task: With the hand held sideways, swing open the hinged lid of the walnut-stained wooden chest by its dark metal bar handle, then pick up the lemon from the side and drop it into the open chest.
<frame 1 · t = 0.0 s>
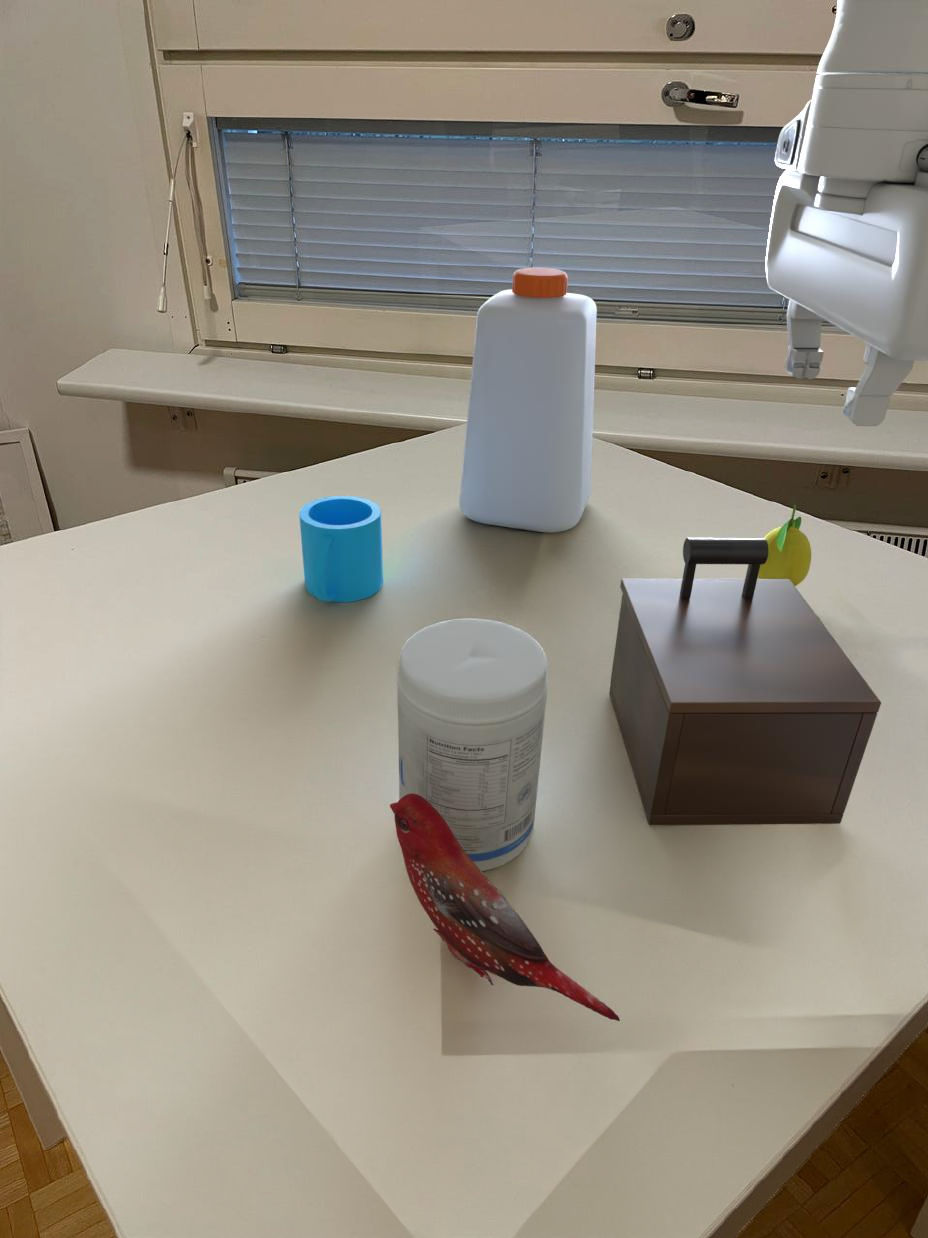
hand: (828, 397, 53), 29 cm above the table, tool pointing down, fingers open, 8 cm apart
chest lid: (742, 609, 63), point 13 cm above the table, hinge at 0.0°
decorative bird figurine: (487, 985, 51), on the table
supplement tub: (466, 829, 62), on the table
mug: (338, 593, 90), on the table
lemon: (774, 594, 92), on the table
chest: (713, 752, 69), on the table
plastic bottle: (525, 509, 110), on the table
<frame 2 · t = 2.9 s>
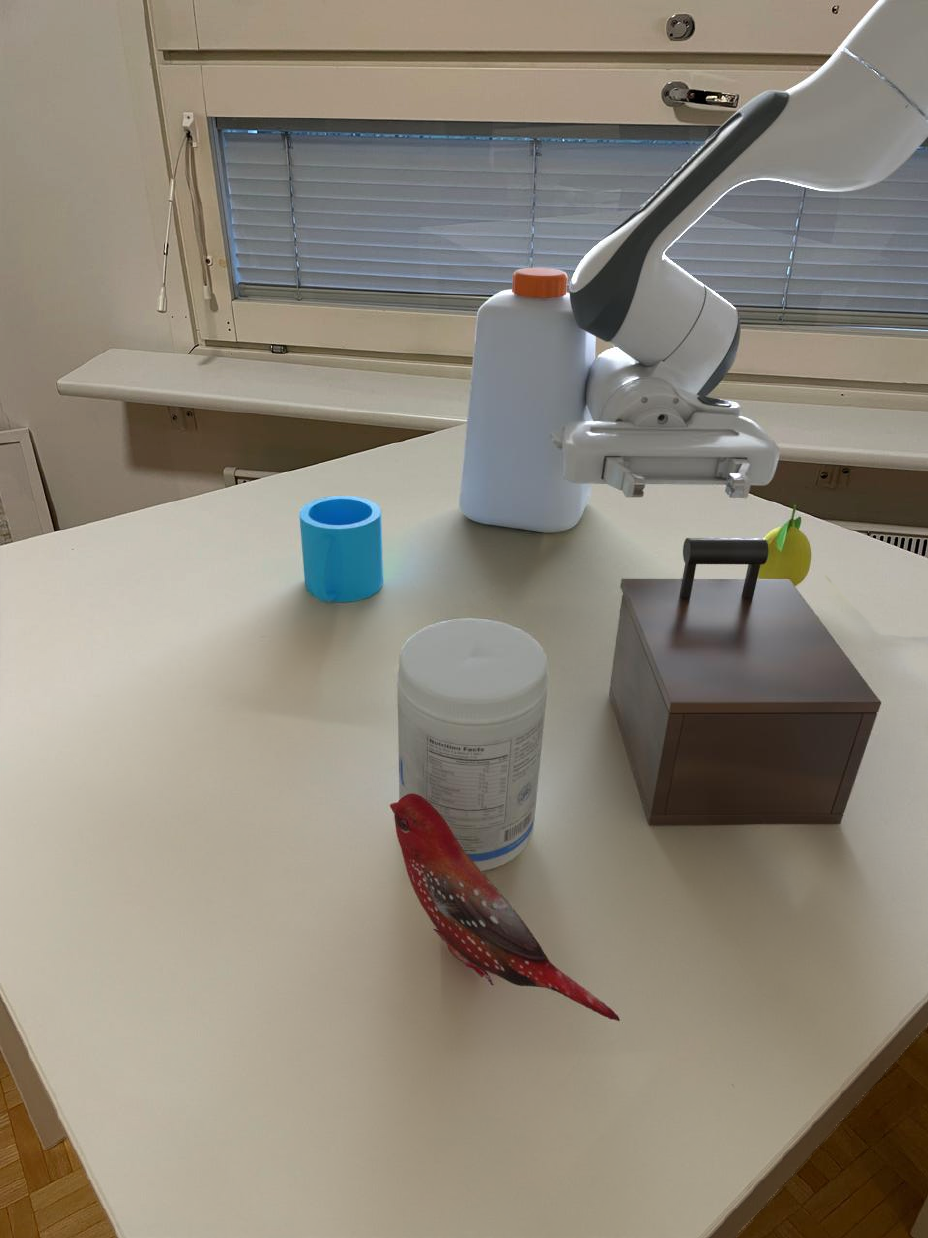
hand: (689, 490, 76), 15 cm above the table, tool horizontal, fingers open, 8 cm apart
nothing on the table moved.
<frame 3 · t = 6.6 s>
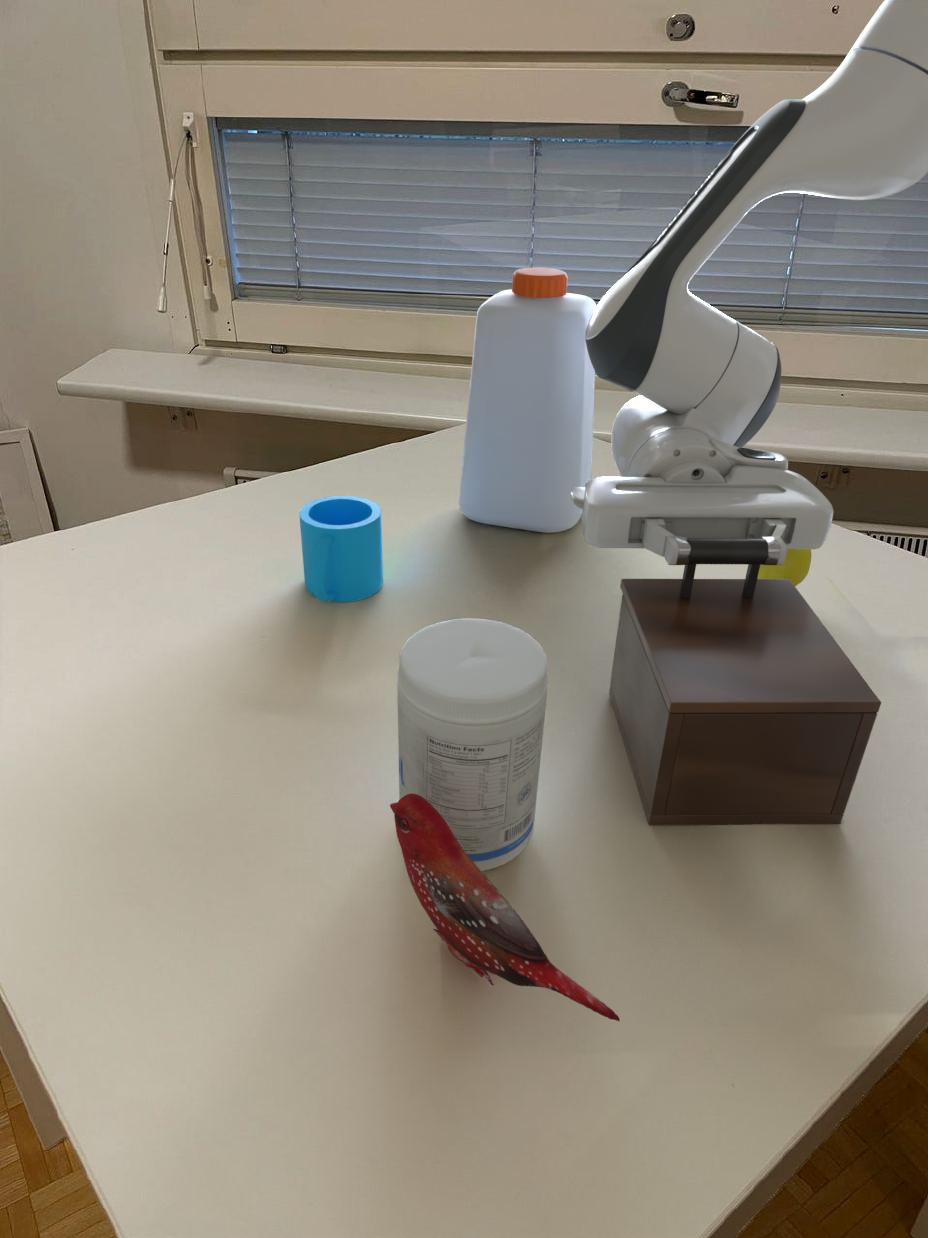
hand: (729, 557, 66), 15 cm above the table, tool horizontal, fingers closed on chest lid, 6 cm apart
chest lid: (742, 609, 63), point 13 cm above the table, hinge at 0.0°, touching gripper
everything else where it was.
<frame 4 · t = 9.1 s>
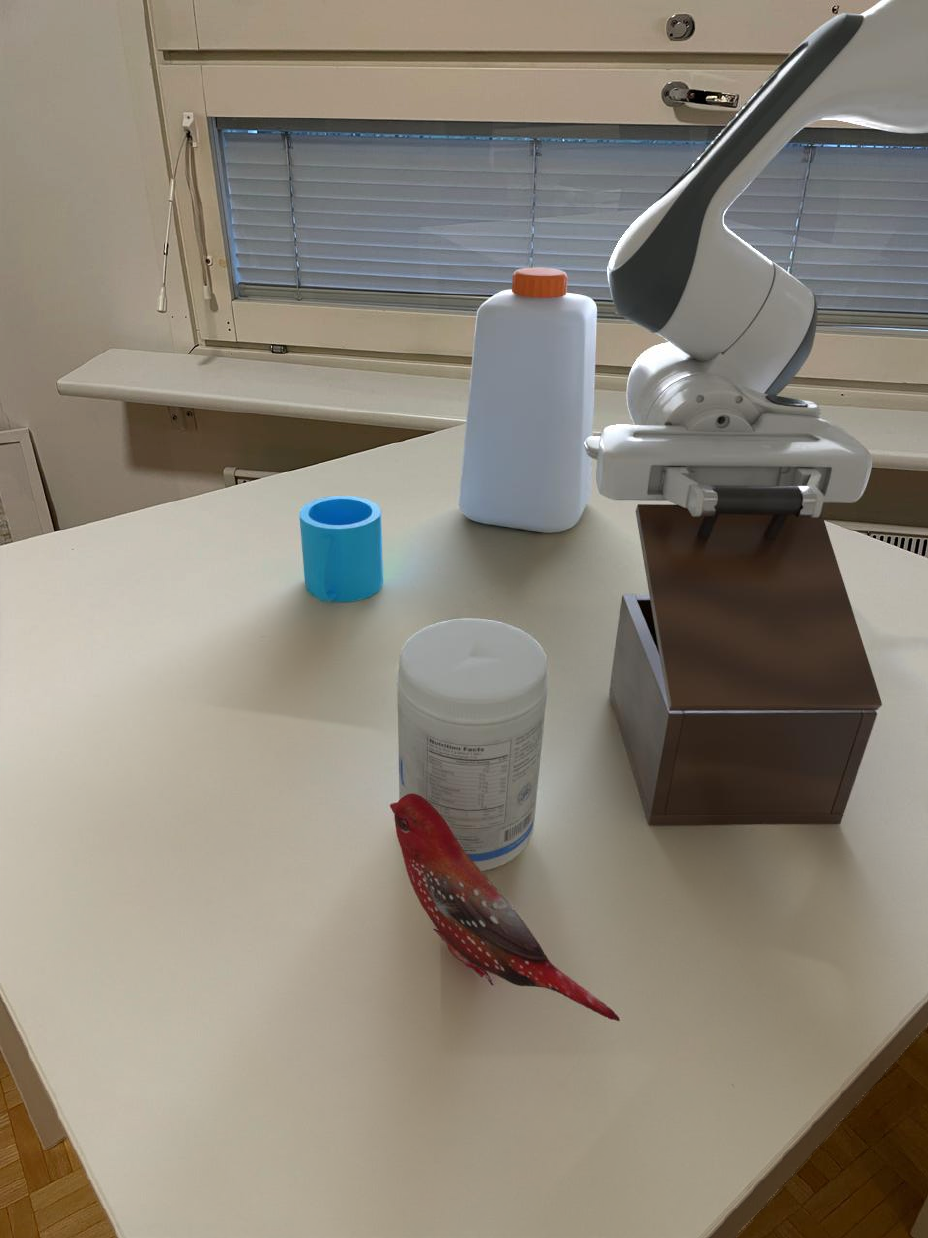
hand: (759, 507, 60), 21 cm above the table, tool horizontal, fingers closed on chest lid, 6 cm apart
chest lid: (761, 580, 60), point 16 cm above the table, hinge at 26.0°, touching gripper
everything else where it was.
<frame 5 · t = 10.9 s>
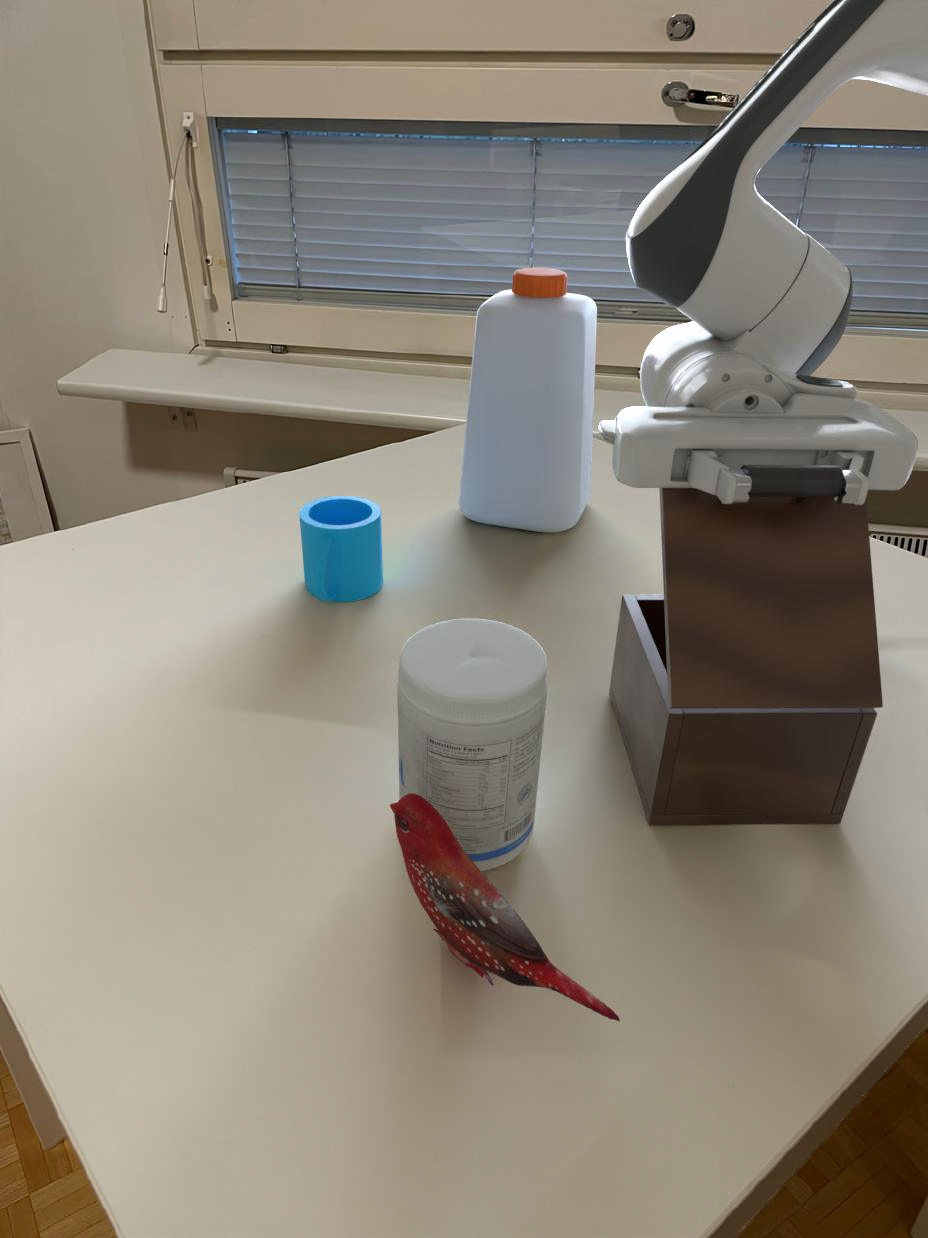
hand: (797, 493, 54), 24 cm above the table, tool horizontal, fingers closed on chest lid, 6 cm apart
chest lid: (783, 572, 56), point 19 cm above the table, hinge at 49.9°, touching gripper
everything else where it was.
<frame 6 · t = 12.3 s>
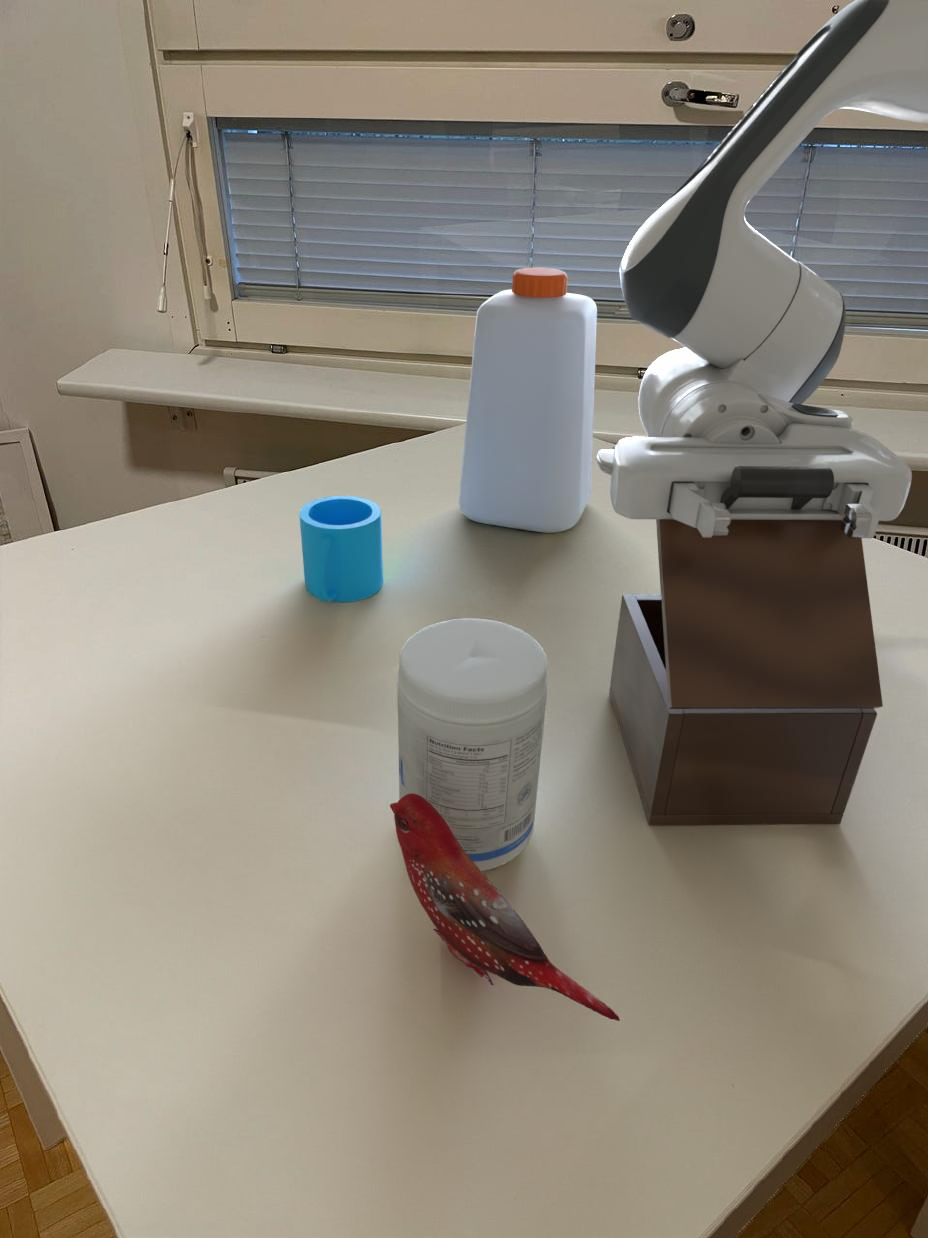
hand: (792, 527, 55), 22 cm above the table, tool horizontal, fingers open, 8 cm apart
chest lid: (778, 572, 57), point 18 cm above the table, hinge at 44.8°
everything else where it was.
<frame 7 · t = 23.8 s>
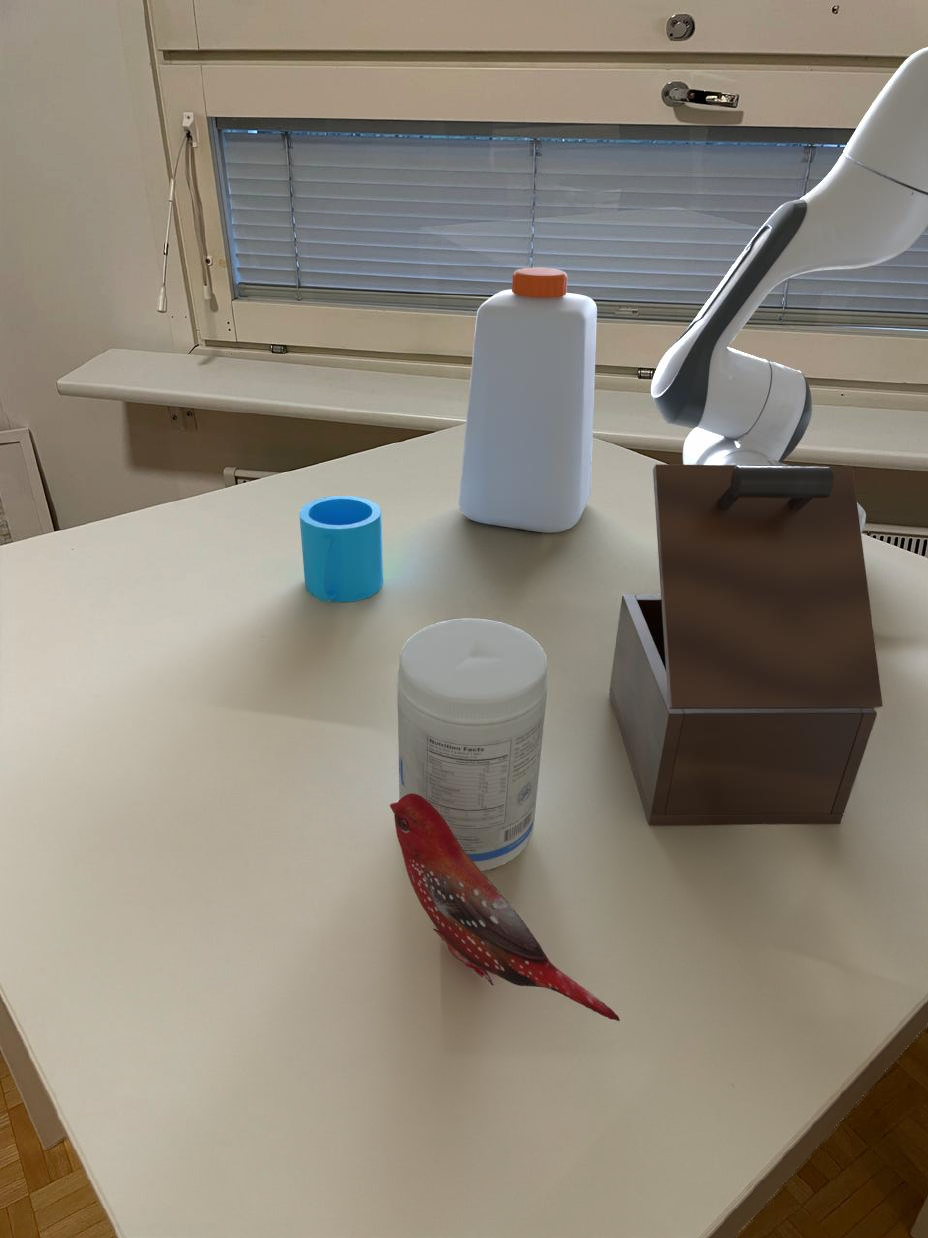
hand: (790, 550, 89), 6 cm above the table, tool horizontal, fingers closed on lemon, 5 cm apart
lemon: (774, 594, 92), on the table, touching gripper
everything else where it was.
when the fingers open (17 cm above the table, at t = 31.3 s): lemon drops 8 cm, resting on chest.
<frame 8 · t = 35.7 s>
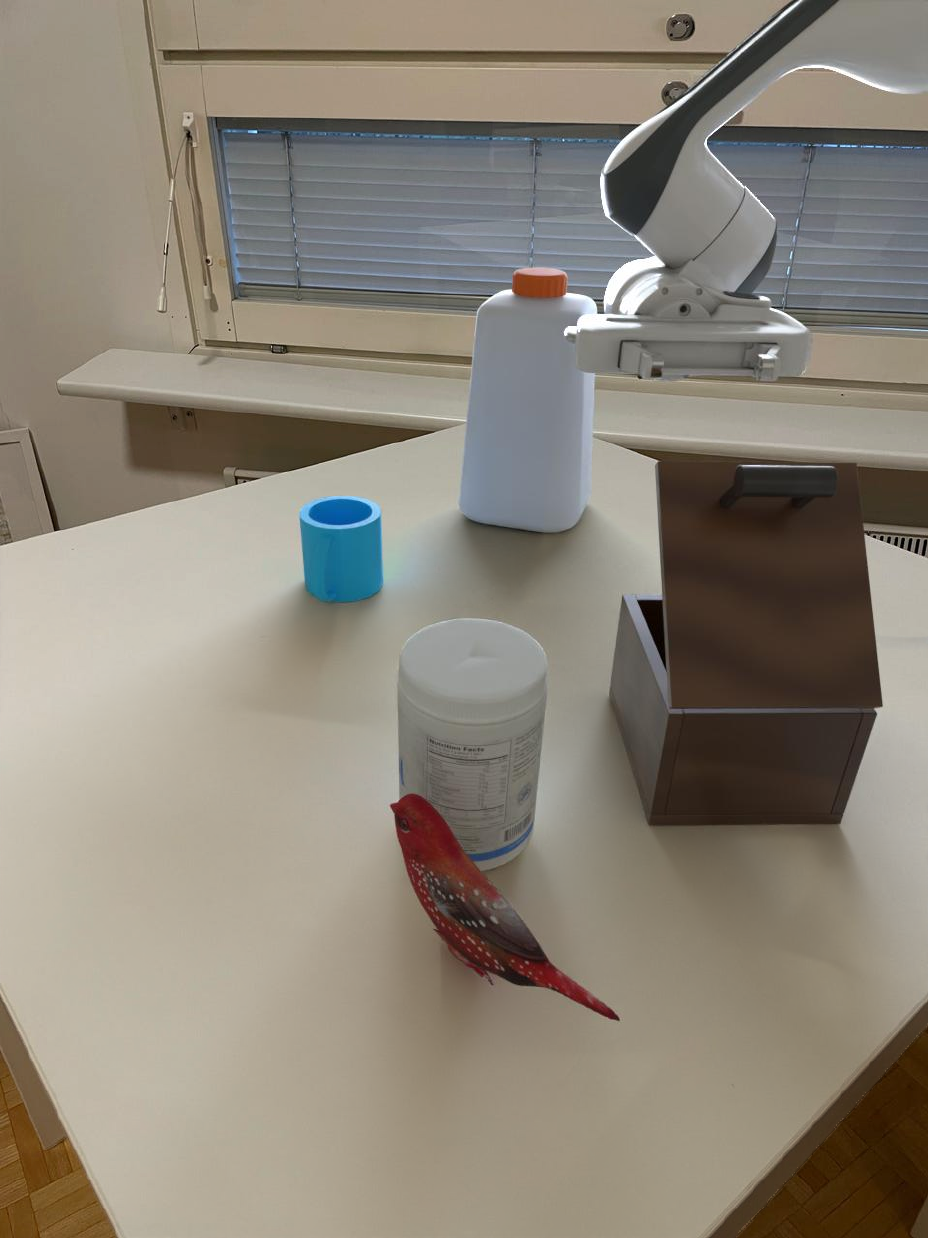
hand: (712, 370, 70), 26 cm above the table, tool horizontal, fingers open, 8 cm apart
chest lid: (780, 572, 56), point 18 cm above the table, hinge at 46.9°
lemon: (710, 689, 71), point 3 cm above the table, touching chest
everything else where it was.
at the end: chest lid at +47° (first picture: +0°); lemon inside the target area in the chest (3.9 cm from its centre), point 3.4 cm above the chest's base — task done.
